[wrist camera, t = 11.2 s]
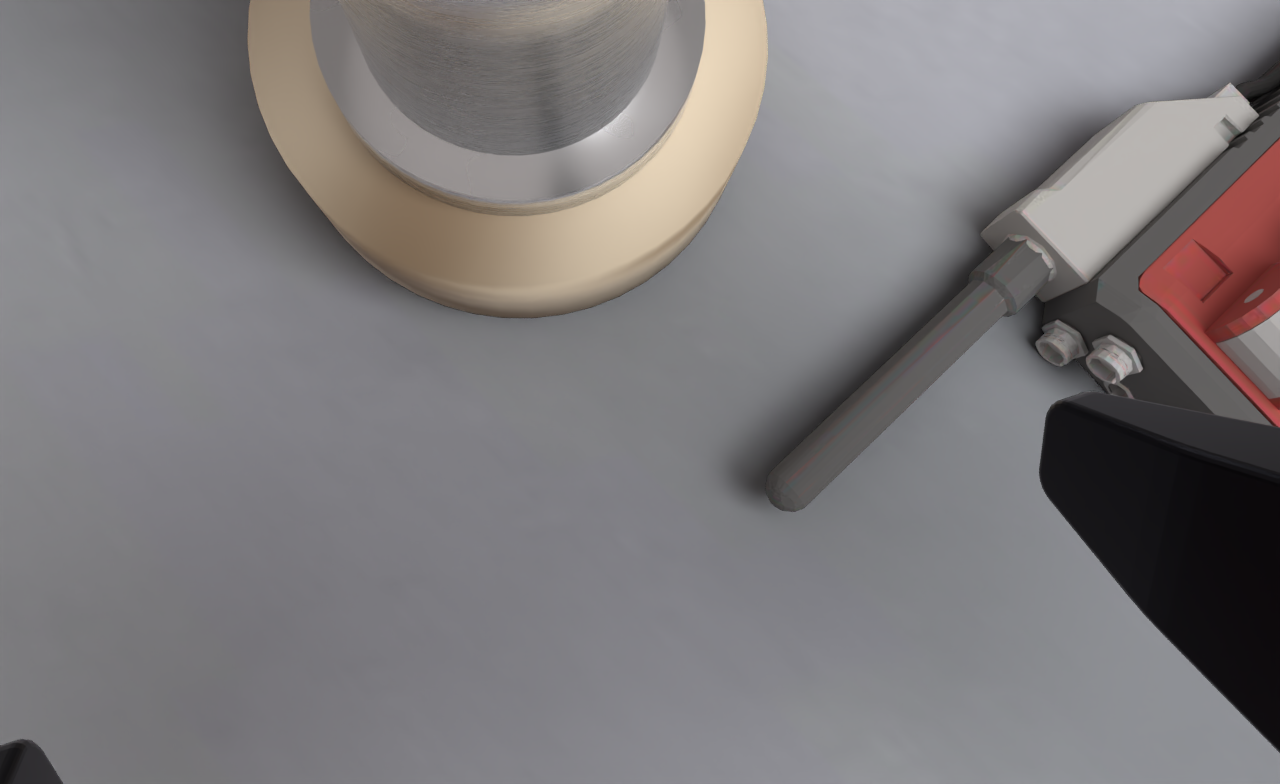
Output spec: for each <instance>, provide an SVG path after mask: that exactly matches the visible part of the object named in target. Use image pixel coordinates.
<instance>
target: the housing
mask: <svg viewBox="0 0 1280 784" xmlns="http://www.w3.org/2000/svg"><path fill="white" fill-rule="evenodd" d="M310 25H311V34H312V42H313V46H314V49H315V53H316V57H317V61H318V65H319V67H320V70H321V72H322V75H323V77H324V79H325V82H326V84H327V87H328V89H329V91H330V92H331V94H332V96H333V98H334V100H335V101H336V103H337V105H338V107H339V109H340V110H341V112H342V114H343V116H344V117H345V119H346V121H347V122H348V124H349V126H350V127H351V129H352V131H353V132H354V134H355V135H356V136H357V138H358V139H359V140H360V142H361V143H362V144H363V145H364V147H365V148H366V149H367V150H368V152H369V153H370V154H371V155H372V156H373V157H374V158H375V159H376V160H377V161H378V162H379V163H381V164H382V165H383V166H384V167H385V168H386V169H387V170H388V171H389V172H391V173H392V174H393V175H395V176H396V177H397V178H399V179H400V180H401V181H403V182H404V183H405V184H407V185H409V186H410V187H412V188H414V189H416V190H418V191H419V192H421V193H423V194H425V195H426V196H428V197H431V198H433V199H436V200H438V201H440V202H443V203H445V204H448V205H450V206H453V207H457V208H461V209H465V210H468V211H472V212H476V213H483V214H491V215H498V216H531V215H540V214H548V213H554V212H558V211H562V210H566V209H570V208H574V207H577V206H579V205H582V204H584V203H587V202H590V201H592V200H595V199H597V198H599V197H601V196H603V195H605V194H606V193H608V192H610V191H612V190H614V189H616V188H617V187H619V186H621V185H622V184H623V183H625V182H626V181H627V180H629V179H630V178H631V177H633V176H634V175H635V174H637V173H638V172H639V171H640V170H641V169H642V168H643V167H644V166H645V165H646V164H647V163H649V162H650V161H651V160H652V159H653V158H654V157H655V156H656V154H657V153H658V152H659V151H660V149H661V148H662V147H663V145H664V144H665V143H666V142H667V140H668V139H669V138H670V136H671V135H672V133H673V131H674V129H675V128H676V126H677V124H678V123H679V121H680V119H681V117H682V115H683V112H684V110H685V108H686V105H687V103H688V100H689V98H690V95H691V92H692V88H693V85H694V81H695V78H696V75H697V71H698V67H699V63H700V59H701V55H702V51H703V45H704V36H705V27H706V21H705V0H310Z"/></svg>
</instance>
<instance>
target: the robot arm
mask: <svg viewBox="0 0 1280 784" xmlns="http://www.w3.org/2000/svg"><path fill="white" fill-rule="evenodd" d="M1039 476H1040V482H1041V485H1042V488H1043V490H1044V492H1045V494H1046V495H1047V497H1048V498H1049V499H1050V501H1051V502H1052V503H1053V504H1054V506H1055V507H1056V508H1057V509H1058V510H1059V512H1060V513H1061V514H1062V515H1063V517H1064V518H1065V519H1066V520H1067V522H1068V523H1069V524H1070V525H1071V526H1072V528H1073V529H1074V530H1075V531H1076V533H1077V534H1078V535H1079V536H1080V537H1081V539H1082V540H1083V541H1084V542H1085V544H1086V545H1087V546H1088V547H1089V548H1090V550H1091V551H1092V552H1093V553H1094V555H1095V556H1096V557H1097V558H1098V559H1099V561H1100V562H1101V563H1102V564H1103V566H1104V567H1105V568H1106V569H1107V570H1108V572H1109V573H1110V574H1111V575H1112V577H1113V578H1114V579H1115V580H1116V581H1117V583H1118V584H1119V585H1120V586H1121V588H1122V589H1123V590H1124V591H1125V592H1126V594H1127V595H1128V596H1129V597H1130V598H1131V600H1132V601H1133V602H1134V603H1135V604H1136V605H1137V607H1138V608H1139V609H1140V610H1141V611H1142V612H1143V614H1144V615H1145V616H1146V617H1147V618H1148V619H1149V620H1150V621H1151V622H1152V623H1153V624H1154V625H1155V627H1156V628H1157V629H1158V630H1159V631H1160V632H1161V633H1162V634H1163V635H1164V636H1165V637H1166V638H1167V639H1168V640H1169V641H1170V642H1171V643H1172V644H1173V645H1174V646H1175V647H1176V648H1177V649H1178V650H1179V651H1180V652H1181V653H1182V654H1183V655H1184V656H1185V657H1186V658H1187V659H1188V660H1189V661H1190V662H1191V663H1192V664H1193V665H1194V666H1195V667H1196V668H1197V669H1198V670H1199V671H1200V673H1201V674H1202V675H1203V676H1204V677H1205V678H1206V679H1207V680H1208V681H1209V682H1210V683H1211V684H1212V685H1213V686H1214V687H1215V688H1216V689H1217V690H1218V691H1219V692H1220V693H1221V694H1222V695H1223V696H1224V697H1225V698H1226V699H1227V700H1228V701H1229V702H1230V703H1231V704H1232V705H1233V706H1234V707H1235V708H1236V709H1237V710H1238V711H1239V712H1240V713H1241V714H1242V715H1243V716H1244V717H1245V718H1246V719H1247V720H1248V721H1249V722H1250V723H1251V724H1252V725H1253V726H1254V727H1255V728H1256V729H1257V730H1258V731H1259V732H1260V733H1261V734H1262V735H1263V736H1264V737H1265V738H1266V739H1267V740H1268V741H1269V742H1270V743H1271V745H1272V746H1273V747H1274V748H1275V749H1276V750H1277V751H1278V752H1279V753H1280V427H1275V426H1270V425H1265V424H1260V423H1255V422H1250V421H1244V420H1239V419H1234V418H1229V417H1224V416H1219V415H1214V414H1209V413H1203V412H1198V411H1193V410H1188V409H1183V408H1178V407H1173V406H1167V405H1162V404H1157V403H1152V402H1147V401H1142V400H1137V399H1132V398H1126V397H1121V396H1116V395H1111V394H1106V393H1101V392H1094V391H1091V392H1084V393H1080V394H1077V395H1074V396H1071V397H1068V398H1065V399H1062V400H1059V401H1057V402H1055V403H1054V404H1053V405H1051V407H1050V409H1049V410H1048V412H1047V415H1046V419H1045V427H1044V435H1043V443H1042V451H1041V459H1040V467H1039ZM0 784H63V782H62V781H61V779H60V777H59V776H58V774H57V773H56V771H55V770H54V768H53V766H52V765H51V763H50V762H49V760H48V758H47V757H46V755H45V754H44V752H43V751H42V749H41V748H40V747H39V746H38V745H37V744H36V743H34V742H33V741H31V740H25V739H20V740H16V741H13V742H10V743H6V744H3V745H0Z"/></svg>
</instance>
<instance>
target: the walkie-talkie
mask: <svg viewBox="0 0 1280 784" xmlns="http://www.w3.org/2000/svg"><path fill="white" fill-rule="evenodd" d="M1250 102H1252V104H1253V105H1252V106H1250V105H1249V103H1250ZM980 235H981V237H982V238H983V239H984V240H985V241H986V243H987V244H988V245H989V246H990V247H991V248H992V249H993V250H994V251H993V252H992V253H991V254H990V255H989V256H988V257H987V258H986V259H985V260H984V261H983V262H982V263H980V264H979V265H978V266H977V267H976V268H975V269H974V270H973V271H972V272H971V273H970V275H969V277H968V282H969V284H968V285H967V286H966V287H965V288H964V289H963V290H962V291H961V292H960V293H959V294H958V295H957V296H955V297H954V298H953V299H952V300H951V301H950V302H949V303H948V304H947V305H946V306H945V307H944V308H943V309H942V310H941V311H940V312H939V313H937V314H936V315H935V316H934V317H933V318H932V319H931V320H930V321H929V322H928V323H927V324H926V325H925V326H924V327H923V328H922V329H921V330H919V331H918V332H917V333H916V334H915V335H914V336H913V337H912V338H911V339H910V340H909V341H908V342H907V343H906V344H905V345H904V346H903V347H901V348H900V349H899V350H898V351H897V352H896V353H895V354H894V355H893V356H892V357H891V358H890V359H889V360H888V361H887V362H886V363H885V364H883V365H882V366H881V367H880V368H879V369H878V370H877V371H876V372H875V373H874V374H873V375H872V376H871V377H870V378H869V379H868V380H867V381H865V382H864V383H863V384H862V385H861V386H860V387H859V388H858V389H857V390H856V391H855V392H854V393H853V394H852V395H851V396H850V397H849V398H847V399H846V400H845V401H844V402H843V403H842V404H841V405H840V406H839V407H838V408H837V409H836V410H835V411H834V412H833V413H832V414H831V415H830V416H829V417H827V418H826V419H825V420H824V421H823V422H822V423H821V424H820V425H819V426H818V427H817V428H816V429H815V430H814V431H813V432H812V433H811V434H810V435H809V436H808V437H806V438H805V439H804V440H803V441H802V442H801V443H800V444H799V445H798V446H797V447H796V448H795V449H794V450H793V451H792V452H791V453H790V454H789V455H788V456H786V457H785V458H784V459H783V460H782V461H781V462H780V463H779V464H778V465H777V466H776V467H775V468H774V469H773V470H772V471H771V472H770V473H769V475H768V477H767V480H766V486H765V491H766V494H767V496H768V498H769V500H770V502H771V503H772V504H773V505H774V506H775V507H777V508H778V509H780V510H782V511H790V512H796V511H798V510H800V509H803V508H805V507H806V506H807V505H808V504H809V503H810V502H811V501H812V500H813V499H814V498H815V497H816V496H817V495H818V494H819V493H820V492H821V491H822V490H823V489H824V488H825V487H826V486H827V485H828V484H829V483H830V482H831V481H832V480H834V479H835V478H836V477H837V476H838V475H839V474H840V473H841V472H842V471H843V470H844V469H845V468H846V467H847V466H848V465H849V464H850V463H851V462H852V461H853V460H854V459H855V458H856V457H857V456H858V455H859V454H860V453H861V452H862V451H863V450H864V449H866V448H867V447H868V446H869V445H870V444H871V443H872V442H873V441H874V440H875V439H876V438H877V437H878V436H879V435H880V434H881V433H882V432H883V431H884V430H885V429H886V428H887V427H888V426H889V425H890V424H891V423H892V422H893V421H894V420H895V419H896V418H898V417H899V416H900V415H901V414H902V413H903V412H904V411H905V410H906V409H907V408H908V407H909V406H910V405H911V404H912V403H913V402H914V401H915V400H916V399H917V398H918V397H919V396H920V395H921V394H922V393H923V392H924V391H925V390H926V389H927V388H928V387H930V386H931V385H932V384H933V383H934V382H935V381H936V380H937V379H938V378H939V377H940V376H941V375H942V374H943V373H944V372H945V371H946V370H947V369H948V368H949V367H950V366H951V365H952V364H953V363H954V362H955V361H956V360H957V359H958V358H959V357H960V356H962V355H963V354H964V353H965V352H966V351H967V350H968V349H969V348H970V347H971V346H972V345H973V344H974V343H975V342H976V341H977V340H978V339H979V338H980V337H981V336H982V335H983V334H984V333H985V332H986V331H987V330H988V329H989V328H990V327H991V326H992V325H994V324H995V323H996V322H997V321H998V320H999V319H1000V318H1001V317H1002V316H1011V315H1014V314H1016V313H1017V312H1018V311H1019V310H1020V309H1021V308H1022V307H1023V306H1024V305H1025V304H1026V303H1027V302H1028V301H1029V300H1030V299H1032V298H1033V297H1034V296H1035V295H1036V296H1037V297H1038V298H1039V299H1040V300H1041V301H1042V302H1045V306H1044V313H1043V321H1042V324H1043V325H1044V326H1043V327H1042V330H1043V332H1044V334H1043V335H1042V336H1041V337H1040V338H1039V339H1038V340H1037V341H1036V347H1037V350H1038V351H1039V353H1040V355H1041V356H1042V357H1043V358H1044V359H1045V360H1047V361H1048V362H1050V363H1052V364H1054V365H1056V366H1063V365H1064V364H1065V365H1067V364H1068V363H1069V362H1070V361H1071V360H1072V359H1076V360H1077V361H1078V362H1079V363H1080V365H1081V366H1082V367H1083V368H1084V369H1085V370H1086V371H1087V372H1088V373H1089V374H1090V375H1091V376H1092V377H1093V378H1094V379H1095V380H1096V381H1097V382H1098V384H1099V385H1100V386H1101V387H1102V388H1103V389H1104V390H1105V391H1106V392H1107V393H1108V394H1111V395H1116V396H1121V397H1126V398H1132V399H1137V400H1142V401H1147V402H1152V403H1157V404H1162V405H1167V406H1173V407H1178V408H1183V409H1188V410H1193V411H1198V412H1203V413H1209V414H1214V415H1219V416H1224V417H1229V418H1234V419H1239V420H1244V421H1250V422H1255V423H1260V424H1265V425H1270V426H1275V427H1280V60H1279V61H1278V62H1277V63H1276V64H1275V65H1274V66H1273V67H1271V68H1270V69H1269V70H1268V71H1267V72H1266V73H1265V74H1264V75H1263V76H1261V77H1260V78H1259V79H1258V80H1255V81H1250V82H1246V83H1242V84H1240V85H1238V86H1236V87H1234V86H1233V85H1232V84H1231V83H1228V84H1227V85H1225V86H1224V87H1222V88H1221V89H1219V90H1218V91H1216V92H1215V93H1213V94H1212V95H1210V96H1209V97H1207V98H1200V99H1185V100H1171V101H1156V102H1146V103H1142V104H1139V105H1136V106H1134V107H1132V108H1131V109H1129V110H1128V111H1127V112H1125V113H1124V114H1123V115H1121V116H1120V117H1118V118H1117V119H1116V120H1114V121H1113V122H1112V123H1110V124H1109V125H1108V126H1106V127H1105V128H1103V129H1102V130H1101V131H1099V132H1098V133H1097V134H1095V135H1094V136H1093V137H1092V138H1091V139H1090V140H1089V141H1088V142H1086V143H1085V144H1084V145H1083V146H1082V147H1081V148H1080V149H1079V150H1078V151H1077V152H1076V153H1075V154H1074V155H1072V156H1071V157H1070V158H1069V159H1068V160H1067V161H1066V162H1065V163H1064V164H1063V165H1062V166H1061V167H1060V168H1058V169H1057V170H1056V171H1055V172H1054V173H1053V174H1052V175H1051V176H1050V177H1049V178H1048V179H1047V180H1046V181H1044V182H1043V183H1042V184H1041V185H1040V186H1039V187H1038V188H1037V189H1036V190H1034V191H1032V192H1031V193H1029V194H1028V195H1026V196H1025V197H1023V198H1022V199H1021V200H1019V201H1018V202H1016V203H1015V204H1013V205H1012V206H1011V207H1009V208H1008V209H1006V210H1005V211H1003V212H1002V213H1001V214H1000V215H999V216H998V217H997V218H996V219H994V220H993V221H992V222H991V223H990V224H989V225H988V226H987V227H986V228H985V229H984V230H983V231H982V232H981V234H980Z"/></svg>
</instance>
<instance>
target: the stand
mask: <svg viewBox="0 0 1280 784" xmlns="http://www.w3.org/2000/svg"><path fill="white" fill-rule="evenodd" d="M705 21H706V27H705V36H704V45H703V51H702V55H701V59H700V63H699V67H698V71H697V75H696V78H695V81H694V85H693V88H692V92H691V95H690V98H689V100H688V103H687V105H686V108H685V110H684V112H683V115H682V117H681V119H680V121H679V123H678V124H677V126H676V128H675V129H674V131H673V133H672V135H671V136H670V138H669V139H668V140H667V142H666V143H665V144H664V145H663V147H662V148H661V149H660V151H659V152H658V153H657V154H656V156H655V157H654V158H653V159H652V160H651V161H650V162H649V163H647V164H646V165H645V166H644V167H643V168H642V169H641V170H640V171H639V172H638V173H637V174H635V175H634V176H633V177H631V178H630V179H629V180H627V181H626V182H625V183H623V184H622V185H621V186H619V187H617V188H616V189H614V190H612V191H610V192H608V193H606V194H605V195H603V196H601V197H599V198H597V199H595V200H592V201H590V202H587V203H584V204H582V205H579V206H577V207H574V208H570V209H566V210H562V211H558V212H554V213H548V214H540V215H531V216H498V215H491V214H483V213H476V212H472V211H468V210H465V209H461V208H457V207H453V206H450V205H448V204H445V203H443V202H440V201H438V200H436V199H433V198H431V197H428V196H426V195H425V194H423V193H421V192H419V191H418V190H416V189H414V188H412V187H410V186H409V185H407V184H405V183H404V182H403V181H401V180H400V179H399V178H397V177H396V176H395V175H393V174H392V173H391V172H389V171H388V170H387V169H386V168H385V167H384V166H383V165H382V164H381V163H379V162H378V161H377V160H376V159H375V158H374V157H373V156H372V155H371V154H370V153H369V152H368V150H367V149H366V148H365V147H364V145H363V144H362V143H361V142H360V140H359V139H358V138H357V136H356V135H355V134H354V132H353V131H352V129H351V127H350V126H349V124H348V122H347V121H346V119H345V117H344V116H343V114H342V112H341V110H340V109H339V107H338V105H337V103H336V101H335V100H334V98H333V96H332V94H331V92H330V91H329V89H328V87H327V84H326V82H325V79H324V77H323V75H322V72H321V70H320V67H319V65H318V61H317V57H316V53H315V49H314V46H313V42H312V34H311V25H310V0H251V1H250V6H249V19H248V40H247V42H248V52H249V63H250V73H251V78H252V82H253V86H254V90H255V94H256V98H257V102H258V106H259V109H260V111H261V114H262V116H263V119H264V121H265V124H266V126H267V129H268V132H269V134H270V137H271V138H272V140H273V142H274V144H275V146H276V147H277V149H278V151H279V153H280V154H281V156H282V158H283V160H284V161H285V163H286V165H287V167H288V168H289V169H290V171H291V172H292V173H293V174H294V176H295V177H296V178H297V180H298V181H299V182H300V184H301V185H302V186H303V187H304V189H305V190H306V191H307V193H308V194H309V195H310V197H311V198H312V199H313V200H314V201H315V203H316V204H317V205H318V206H319V208H320V209H321V210H322V211H323V213H324V214H325V215H326V216H327V218H328V219H329V220H330V221H331V223H332V224H333V225H334V226H335V228H336V229H337V230H338V231H339V233H340V234H341V235H342V236H343V238H344V239H345V240H346V241H347V242H348V243H349V244H350V245H351V246H352V247H353V248H354V249H355V250H356V251H357V252H358V253H359V254H360V255H361V256H362V257H363V258H364V259H365V260H366V261H367V262H368V263H370V264H371V265H372V266H374V267H375V268H376V269H378V270H379V271H380V272H382V273H383V274H384V275H385V276H387V277H388V278H389V279H391V280H393V281H394V282H396V283H398V284H400V285H401V286H403V287H405V288H407V289H408V290H410V291H412V292H414V293H415V294H417V295H420V296H422V297H424V298H427V299H429V300H432V301H434V302H437V303H439V304H441V305H444V306H447V307H451V308H455V309H458V310H462V311H466V312H470V313H473V314H480V315H487V316H495V317H502V318H538V317H546V316H554V315H563V314H567V313H571V312H575V311H579V310H583V309H587V308H591V307H594V306H596V305H599V304H601V303H604V302H606V301H609V300H611V299H614V298H617V297H619V296H621V295H623V294H625V293H626V292H628V291H630V290H632V289H634V288H635V287H637V286H639V285H641V284H643V283H644V282H646V281H647V280H649V279H650V278H651V277H653V276H654V275H655V274H657V273H658V272H659V271H661V270H662V269H663V268H665V267H666V266H667V265H669V264H670V263H671V262H672V261H673V260H674V259H675V258H676V257H677V256H678V255H679V254H680V253H681V252H682V251H683V250H684V249H685V248H686V247H687V246H688V245H689V244H690V242H691V241H692V240H693V239H694V237H695V236H696V235H697V233H698V232H699V231H700V230H701V228H702V227H703V226H704V224H705V223H706V222H707V220H708V218H709V216H710V215H711V213H712V211H713V209H714V208H715V206H716V204H717V203H718V201H719V199H720V197H721V195H722V193H723V191H724V189H725V187H726V185H727V183H728V181H729V179H730V177H731V175H732V172H733V170H734V168H735V166H736V164H737V162H738V160H739V158H740V156H741V154H742V152H743V150H744V148H745V145H746V143H747V141H748V138H749V136H750V133H751V131H752V128H753V126H754V123H755V121H756V118H757V115H758V111H759V107H760V103H761V99H762V95H763V91H764V86H765V77H766V68H767V59H768V48H767V23H766V17H765V11H764V5H763V0H705Z"/></svg>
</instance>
